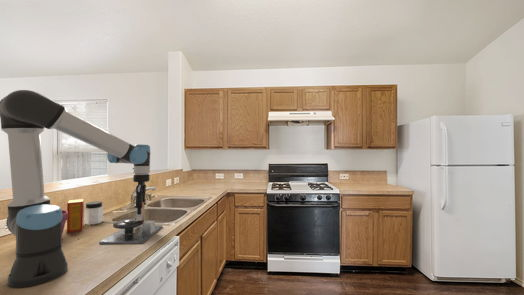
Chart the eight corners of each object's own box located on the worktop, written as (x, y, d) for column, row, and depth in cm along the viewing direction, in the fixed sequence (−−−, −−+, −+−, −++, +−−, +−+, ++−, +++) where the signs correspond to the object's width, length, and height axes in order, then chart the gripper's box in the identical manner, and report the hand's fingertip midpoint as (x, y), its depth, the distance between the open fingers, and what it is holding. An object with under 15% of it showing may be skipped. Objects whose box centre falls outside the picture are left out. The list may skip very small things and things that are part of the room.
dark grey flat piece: (142, 243, 111) (143, 229, 111) (99, 244, 111) (99, 230, 111) (162, 227, 135) (162, 215, 135) (126, 227, 135) (126, 215, 135)
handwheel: (152, 225, 133) (152, 198, 133) (136, 237, 116) (136, 205, 116) (126, 225, 133) (127, 198, 133) (106, 237, 116) (106, 205, 116)
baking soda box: (69, 227, 134) (69, 199, 134) (83, 225, 137) (84, 198, 138) (66, 232, 126) (67, 202, 126) (82, 230, 130) (82, 201, 130)
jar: (84, 225, 138) (84, 204, 138) (85, 222, 145) (85, 202, 145) (102, 223, 143) (103, 203, 143) (102, 219, 150) (103, 200, 150)
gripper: (137, 173, 132) (135, 215, 131) (129, 175, 115) (128, 224, 114) (151, 172, 134) (150, 214, 133) (146, 175, 117) (145, 223, 116)
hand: (140, 219), depth 124 cm, fingers open, 5 cm apart
